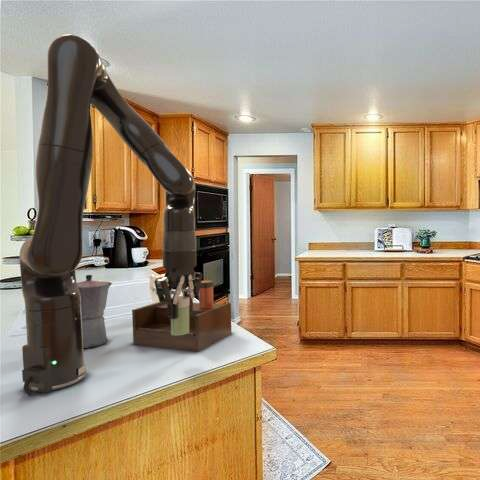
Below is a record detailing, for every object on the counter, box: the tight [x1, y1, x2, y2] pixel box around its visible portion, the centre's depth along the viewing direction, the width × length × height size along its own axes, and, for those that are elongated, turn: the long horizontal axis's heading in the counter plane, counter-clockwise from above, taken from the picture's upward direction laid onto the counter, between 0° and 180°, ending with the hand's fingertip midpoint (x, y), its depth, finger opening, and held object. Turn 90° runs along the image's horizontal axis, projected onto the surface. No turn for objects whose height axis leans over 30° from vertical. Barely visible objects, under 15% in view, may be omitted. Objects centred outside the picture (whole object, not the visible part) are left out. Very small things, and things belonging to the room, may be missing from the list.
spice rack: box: [131, 302, 232, 352], centre depth 106 cm, size 15×22×10 cm
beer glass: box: [148, 273, 165, 304], centre depth 129 cm, size 7×7×15 cm
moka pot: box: [77, 274, 113, 349], centre depth 100 cm, size 10×15×20 cm, turn 164°
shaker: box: [171, 295, 190, 336], centre depth 89 cm, size 4×4×9 cm
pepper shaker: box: [198, 279, 214, 309], centre depth 108 cm, size 4×4×8 cm
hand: (180, 315), depth 89 cm, fingers closed on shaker, 4 cm apart
